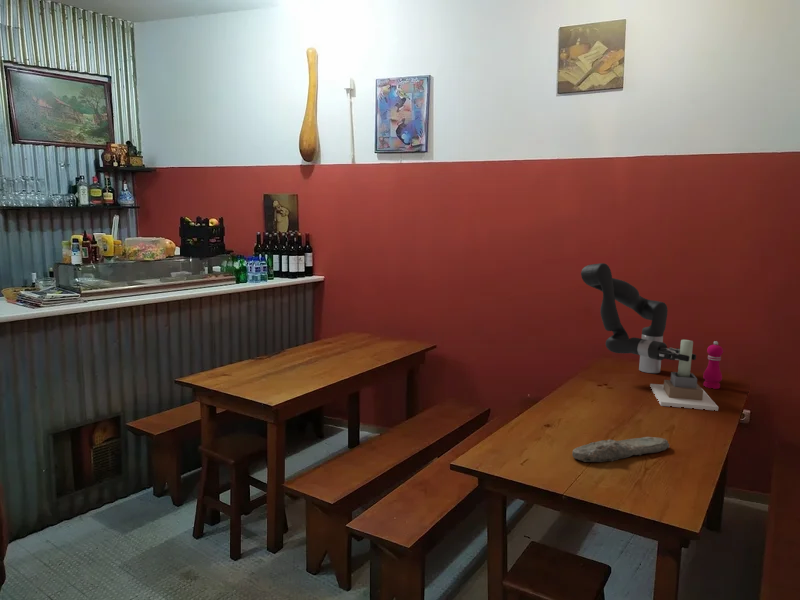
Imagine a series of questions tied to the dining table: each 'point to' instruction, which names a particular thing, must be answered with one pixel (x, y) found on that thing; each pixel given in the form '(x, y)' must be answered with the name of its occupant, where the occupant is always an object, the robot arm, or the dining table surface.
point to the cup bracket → (683, 393)
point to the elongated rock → (619, 449)
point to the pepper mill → (713, 367)
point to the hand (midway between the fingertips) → (692, 358)
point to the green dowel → (685, 365)
